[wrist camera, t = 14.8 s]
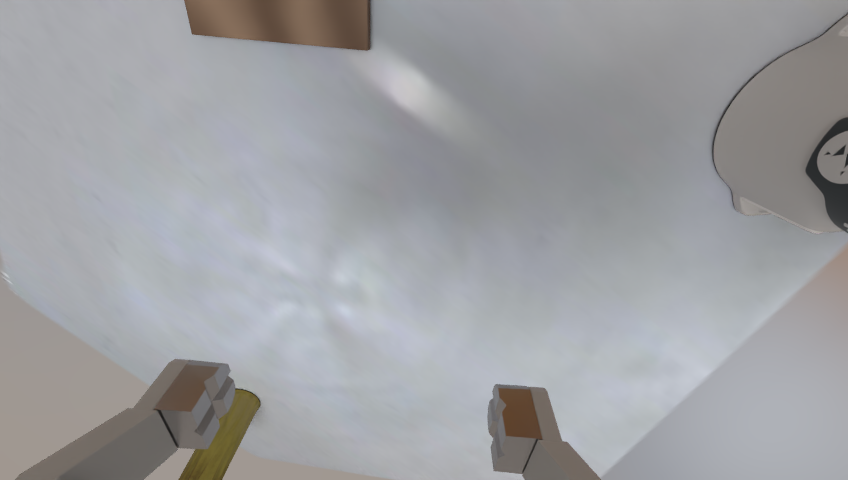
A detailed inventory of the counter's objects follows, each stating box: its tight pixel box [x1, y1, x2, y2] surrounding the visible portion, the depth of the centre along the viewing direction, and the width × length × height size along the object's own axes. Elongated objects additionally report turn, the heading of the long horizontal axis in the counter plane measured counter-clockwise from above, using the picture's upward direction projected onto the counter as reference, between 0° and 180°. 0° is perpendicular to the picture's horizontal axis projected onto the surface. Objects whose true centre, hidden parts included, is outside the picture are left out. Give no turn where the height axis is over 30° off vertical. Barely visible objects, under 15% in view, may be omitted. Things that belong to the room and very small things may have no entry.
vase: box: [179, 389, 260, 480], centre depth 54 cm, size 6×6×14 cm
